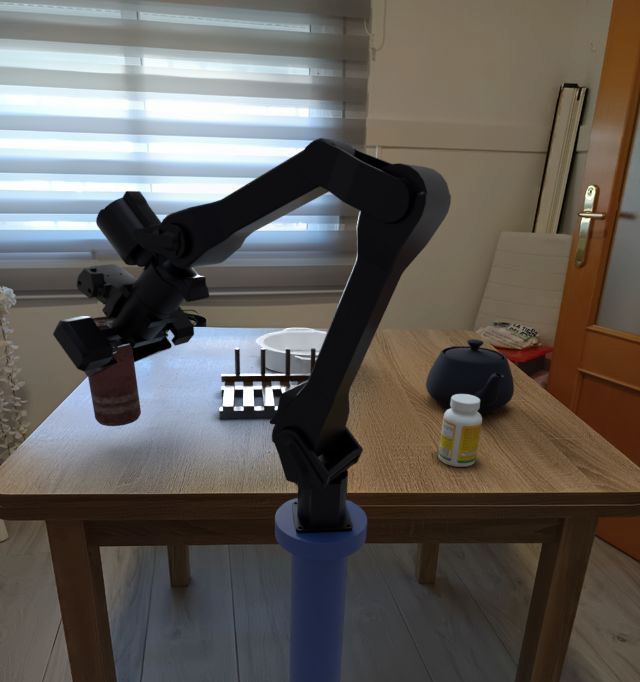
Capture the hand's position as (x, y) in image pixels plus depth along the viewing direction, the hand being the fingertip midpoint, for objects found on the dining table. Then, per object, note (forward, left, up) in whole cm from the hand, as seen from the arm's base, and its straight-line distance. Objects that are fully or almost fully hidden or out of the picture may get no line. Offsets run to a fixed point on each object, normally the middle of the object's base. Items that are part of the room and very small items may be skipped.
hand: (104, 368), depth 79 cm
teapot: (+16, -60, -12) cm, 63 cm away
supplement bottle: (-6, -50, -12) cm, 52 cm away
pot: (+45, -33, -12) cm, 57 cm away
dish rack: (+18, -25, -12) cm, 33 cm away
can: (-1, -1, -7) cm, 7 cm away
